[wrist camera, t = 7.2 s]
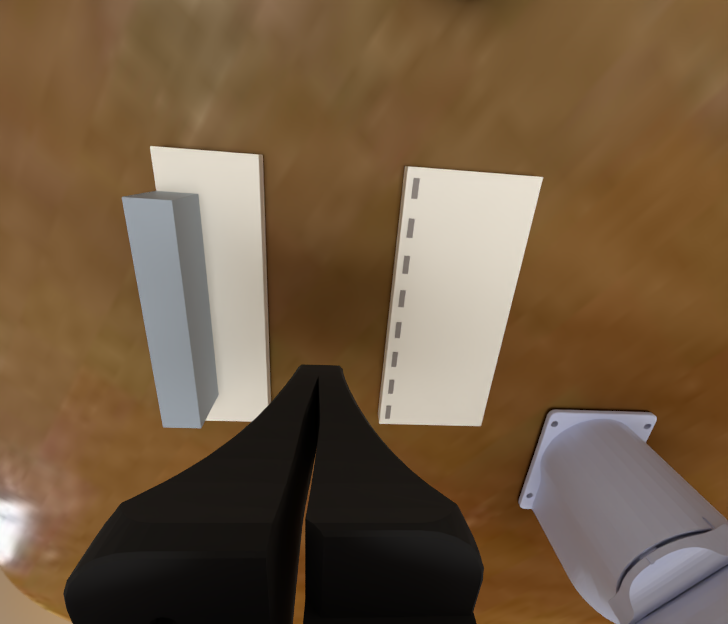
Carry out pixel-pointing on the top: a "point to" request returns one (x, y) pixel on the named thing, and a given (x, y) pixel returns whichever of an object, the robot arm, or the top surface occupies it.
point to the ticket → (452, 291)
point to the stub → (204, 284)
